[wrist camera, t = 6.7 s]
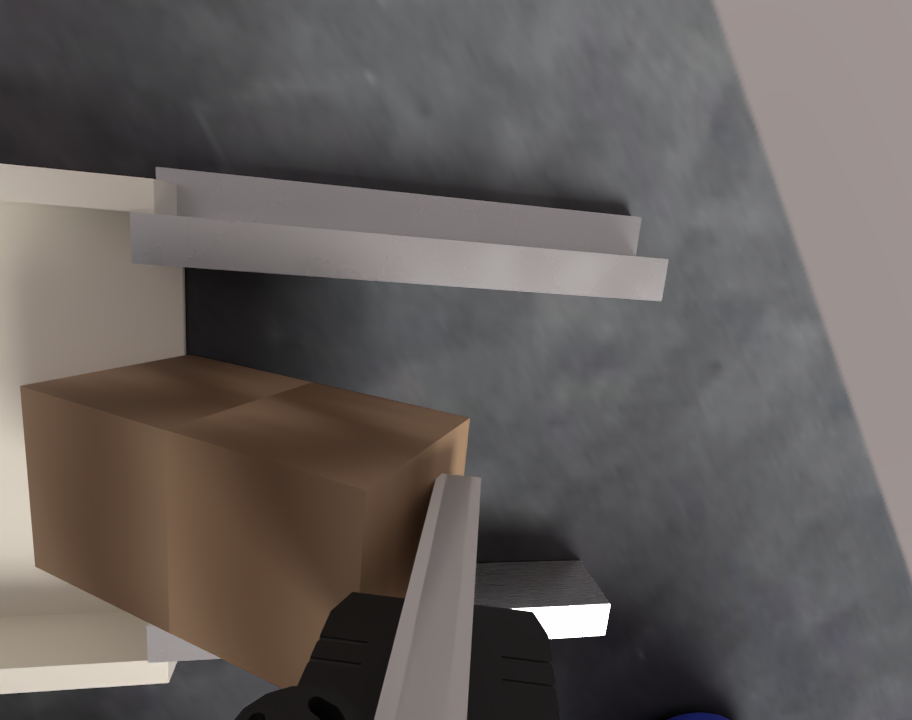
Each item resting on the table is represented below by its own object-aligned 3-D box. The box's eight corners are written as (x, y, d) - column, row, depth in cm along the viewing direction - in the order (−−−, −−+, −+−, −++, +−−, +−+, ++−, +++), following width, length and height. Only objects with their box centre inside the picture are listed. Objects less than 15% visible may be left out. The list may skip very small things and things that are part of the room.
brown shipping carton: (307, 535, 16) (169, 632, 12) (312, 381, 15) (164, 429, 11) (452, 586, 14) (351, 722, 10) (470, 417, 13) (365, 490, 9)
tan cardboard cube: (191, 494, 17) (34, 566, 13) (190, 354, 16) (19, 385, 12) (308, 535, 16) (170, 633, 12) (313, 382, 15) (165, 430, 11)
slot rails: (175, 637, 18) (149, 698, 16) (163, 168, 15) (127, 157, 13) (571, 616, 21) (600, 666, 19) (632, 217, 18) (676, 215, 15)
